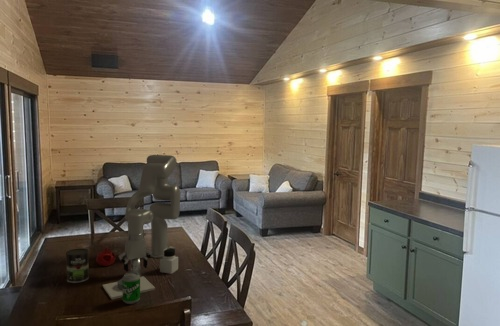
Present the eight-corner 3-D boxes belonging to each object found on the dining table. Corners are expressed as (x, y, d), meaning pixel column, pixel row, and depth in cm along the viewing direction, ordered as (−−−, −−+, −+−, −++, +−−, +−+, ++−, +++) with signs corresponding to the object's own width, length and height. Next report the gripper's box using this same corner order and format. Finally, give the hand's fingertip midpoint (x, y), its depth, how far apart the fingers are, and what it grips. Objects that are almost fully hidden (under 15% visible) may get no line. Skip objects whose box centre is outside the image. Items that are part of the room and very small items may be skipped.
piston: (139, 272, 206) (138, 256, 205) (142, 275, 201) (142, 258, 201) (129, 274, 203) (129, 257, 202) (132, 277, 199) (132, 260, 198)
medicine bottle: (178, 269, 211) (178, 247, 210) (171, 274, 205) (171, 251, 203) (166, 267, 214) (166, 246, 212) (159, 272, 207) (159, 250, 206)
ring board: (143, 278, 198) (143, 271, 198) (154, 289, 185) (154, 282, 185) (102, 286, 187) (102, 279, 187) (111, 299, 174) (111, 291, 174)
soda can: (124, 297, 176) (124, 271, 175) (141, 297, 177) (141, 271, 176) (120, 305, 169) (120, 278, 168) (138, 304, 169) (138, 278, 168)
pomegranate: (92, 265, 215) (91, 249, 214) (106, 260, 224) (106, 244, 223) (105, 268, 210) (104, 251, 209) (119, 262, 219) (118, 246, 218)
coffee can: (90, 281, 194) (89, 253, 192) (67, 284, 189) (66, 256, 187) (88, 273, 203) (87, 247, 201) (66, 277, 198) (65, 249, 197)
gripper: (149, 232, 208) (149, 263, 210) (116, 237, 198) (116, 269, 200) (154, 236, 202) (154, 268, 204) (120, 241, 192) (120, 274, 194)
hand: (135, 268), depth 202 cm, fingers open, 9 cm apart
